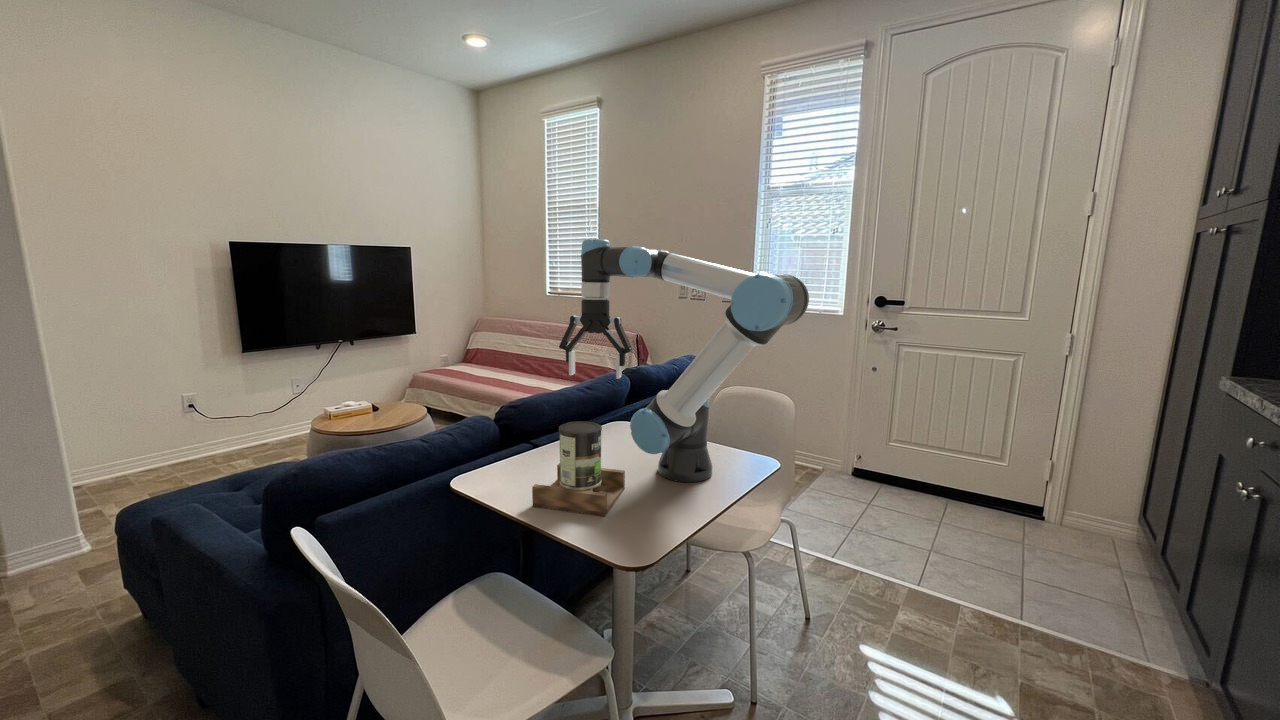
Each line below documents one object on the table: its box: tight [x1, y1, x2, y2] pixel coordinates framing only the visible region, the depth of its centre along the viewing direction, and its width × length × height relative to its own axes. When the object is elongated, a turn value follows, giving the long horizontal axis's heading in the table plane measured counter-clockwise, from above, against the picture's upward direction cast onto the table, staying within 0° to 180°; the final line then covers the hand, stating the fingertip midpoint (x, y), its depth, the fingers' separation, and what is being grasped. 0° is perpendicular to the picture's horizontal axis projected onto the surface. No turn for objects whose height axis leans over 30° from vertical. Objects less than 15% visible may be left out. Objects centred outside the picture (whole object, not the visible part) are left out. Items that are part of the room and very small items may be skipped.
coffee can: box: [558, 420, 603, 490], centre depth 126 cm, size 10×10×14 cm
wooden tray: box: [531, 462, 626, 518], centre depth 128 cm, size 18×16×5 cm
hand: (595, 376), depth 142 cm, fingers open, 13 cm apart
